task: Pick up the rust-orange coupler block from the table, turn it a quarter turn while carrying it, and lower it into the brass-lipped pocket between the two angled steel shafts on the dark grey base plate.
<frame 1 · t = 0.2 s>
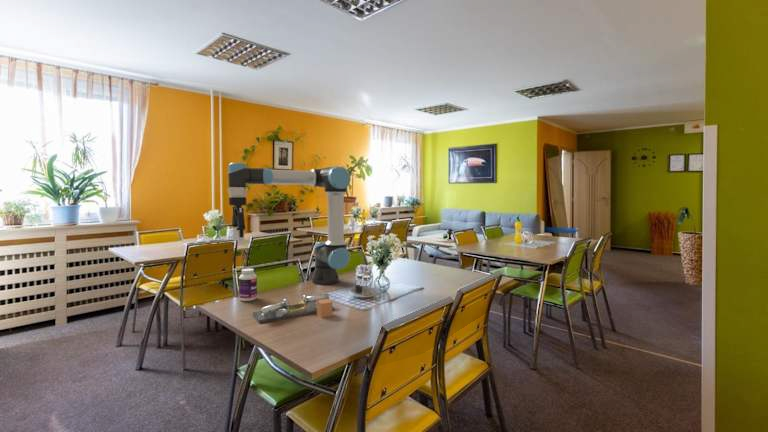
hand: (238, 242, 172), 28 cm above the table, fingers open, 13 cm apart
board: (294, 312, 159), on the table
shaft a: (315, 299, 163), point 4 cm above the table
pill bottle: (248, 299, 176), on the table
shaft b: (274, 308, 151), point 4 cm above the table
coupler: (324, 315, 156), on the table
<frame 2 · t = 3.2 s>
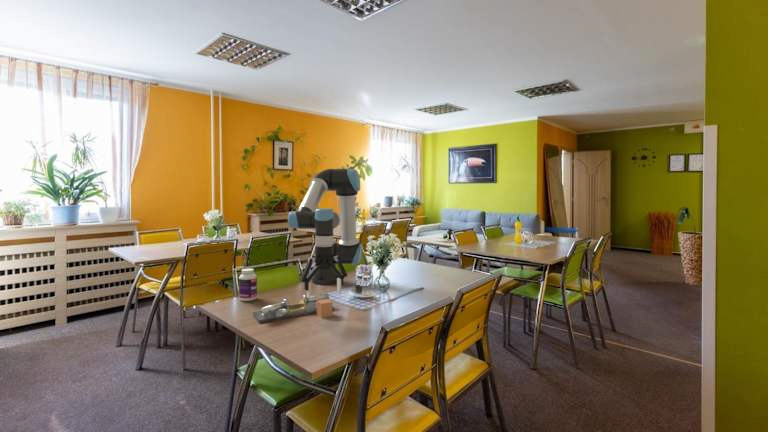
hand: (324, 295, 155), 8 cm above the table, fingers open, 13 cm apart
nothing on the table moved.
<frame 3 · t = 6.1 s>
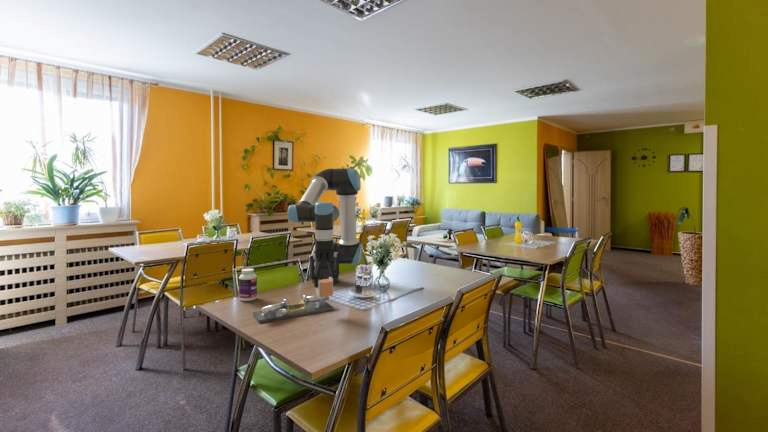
hand: (324, 293, 156), 9 cm above the table, fingers closed on coupler, 5 cm apart
coupler: (324, 294, 156), point 9 cm above the table, touching gripper
everything else where it was.
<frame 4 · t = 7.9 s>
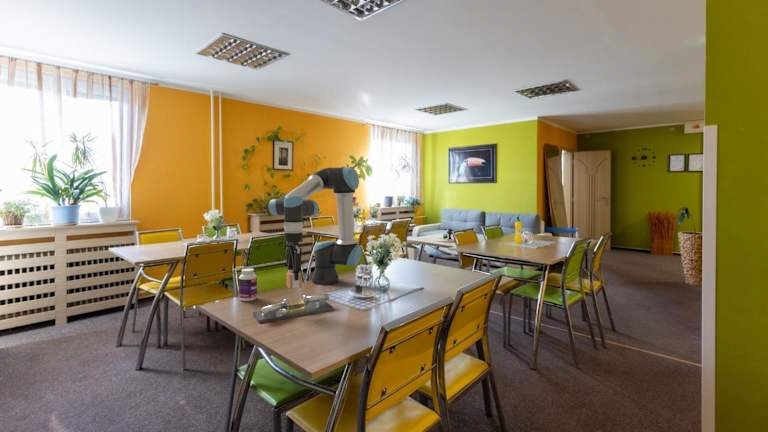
hand: (293, 285, 157), 12 cm above the table, fingers closed on coupler, 5 cm apart
coupler: (293, 286, 158), point 11 cm above the table, touching gripper
everything else where it was.
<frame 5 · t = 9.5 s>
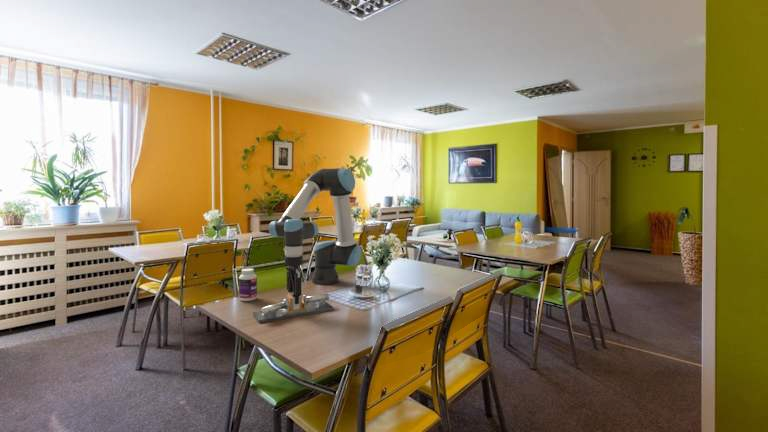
hand: (293, 308, 158), 2 cm above the table, fingers closed on board, coupler, 5 cm apart
coupler: (294, 309, 158), point 1 cm above the table, touching board, gripper
everything else where it was.
when the fingers open (2 cm above the table, at t = 11.4 s): coupler stays where it is, resting on board.
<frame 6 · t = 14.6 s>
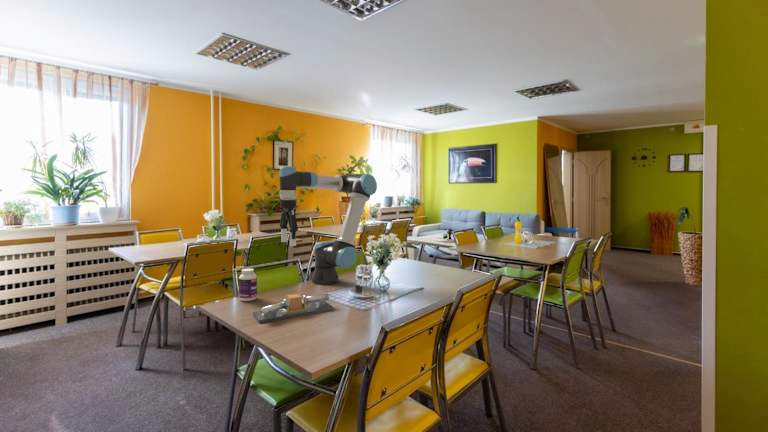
hand: (288, 244, 176), 27 cm above the table, fingers open, 13 cm apart
coupler: (294, 309, 158), point 1 cm above the table, touching board
everything else where it was.
at the end: coupler 0.0 cm off-centre on the board, point 1.2 cm above the board's base; coupler tilted 0°; the gripper is holding nothing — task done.
